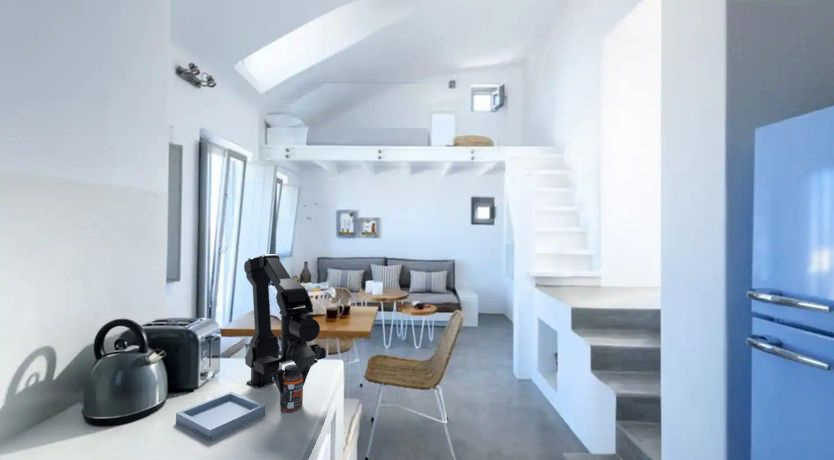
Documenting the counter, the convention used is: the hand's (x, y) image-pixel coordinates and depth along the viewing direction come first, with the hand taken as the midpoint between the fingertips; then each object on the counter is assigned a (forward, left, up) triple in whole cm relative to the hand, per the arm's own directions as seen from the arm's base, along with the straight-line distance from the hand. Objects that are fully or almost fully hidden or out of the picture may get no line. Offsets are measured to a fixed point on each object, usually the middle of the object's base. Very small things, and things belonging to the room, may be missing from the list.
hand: (291, 389), depth 108 cm
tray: (-10, -14, -5) cm, 18 cm away
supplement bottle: (0, 0, -5) cm, 5 cm away
